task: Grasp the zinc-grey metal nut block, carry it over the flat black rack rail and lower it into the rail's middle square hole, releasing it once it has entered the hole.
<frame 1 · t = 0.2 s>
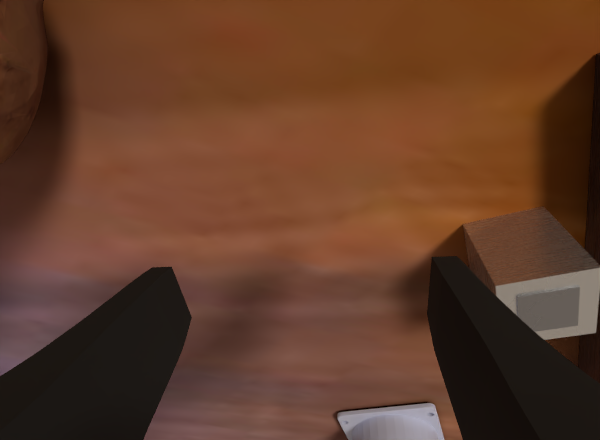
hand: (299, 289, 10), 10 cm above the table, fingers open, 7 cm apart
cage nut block: (504, 244, 20), on the table
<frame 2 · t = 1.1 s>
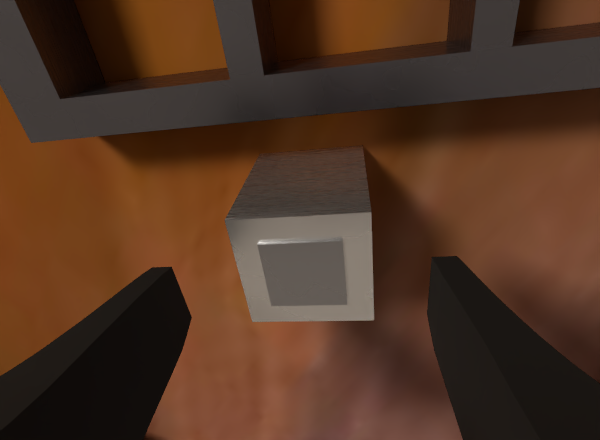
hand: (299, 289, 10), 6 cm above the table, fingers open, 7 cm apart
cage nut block: (315, 195, 15), on the table
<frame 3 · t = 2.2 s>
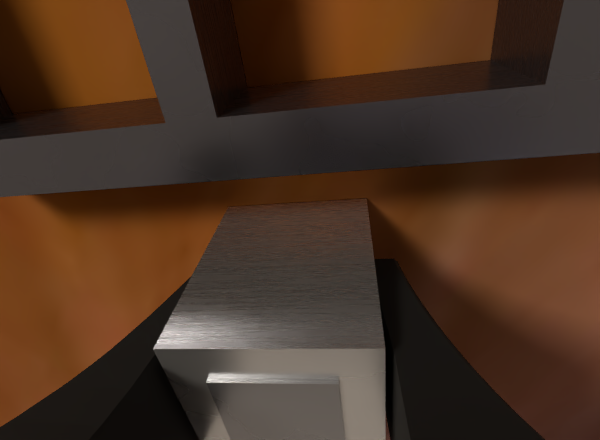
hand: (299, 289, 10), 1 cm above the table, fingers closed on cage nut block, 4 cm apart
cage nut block: (303, 258, 11), on the table, touching gripper
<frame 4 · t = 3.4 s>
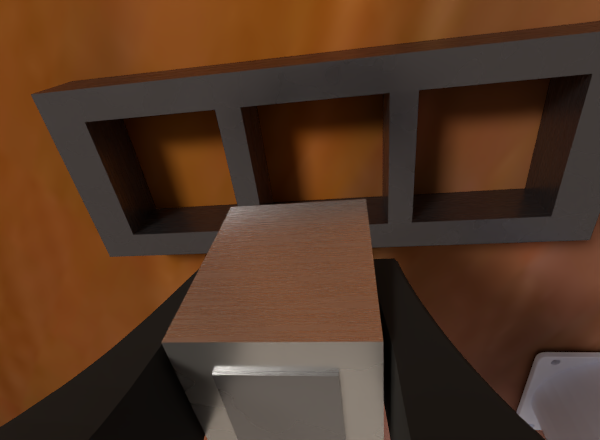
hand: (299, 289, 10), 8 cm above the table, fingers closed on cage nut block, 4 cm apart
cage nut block: (304, 257, 12), point 7 cm above the table, touching gripper
rack rail: (322, 147, 17), on the table
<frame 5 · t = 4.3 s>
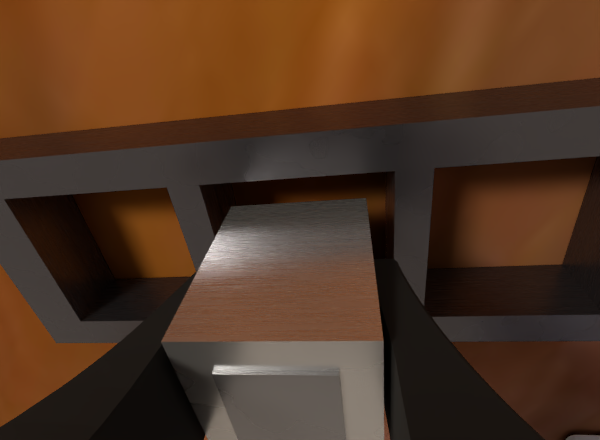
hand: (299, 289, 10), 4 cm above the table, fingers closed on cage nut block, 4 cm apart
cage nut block: (304, 256, 12), point 2 cm above the table, touching gripper
rack rail: (310, 216, 13), on the table
when the fingers open (3 cm above the table, at t = 4.9 s): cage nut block drops 2 cm, resting in rack rail.
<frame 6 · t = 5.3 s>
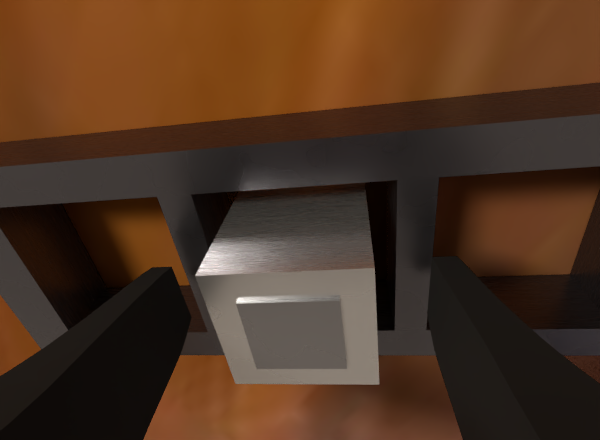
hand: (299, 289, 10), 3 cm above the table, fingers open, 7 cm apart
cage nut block: (309, 224, 13), resting in rack rail
rack rail: (308, 224, 13), on the table
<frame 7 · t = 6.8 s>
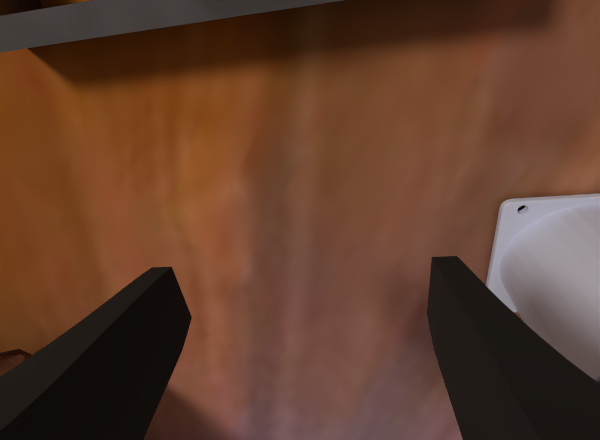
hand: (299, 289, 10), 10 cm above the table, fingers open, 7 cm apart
butternut squash: (66, 367, 32), on the table
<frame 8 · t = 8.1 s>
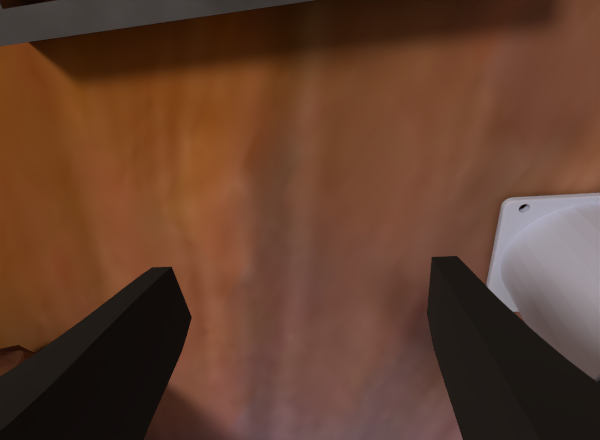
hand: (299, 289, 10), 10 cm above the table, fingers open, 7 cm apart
butternut squash: (65, 364, 32), on the table
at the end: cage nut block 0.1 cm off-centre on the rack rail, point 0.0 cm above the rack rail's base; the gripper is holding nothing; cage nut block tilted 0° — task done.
